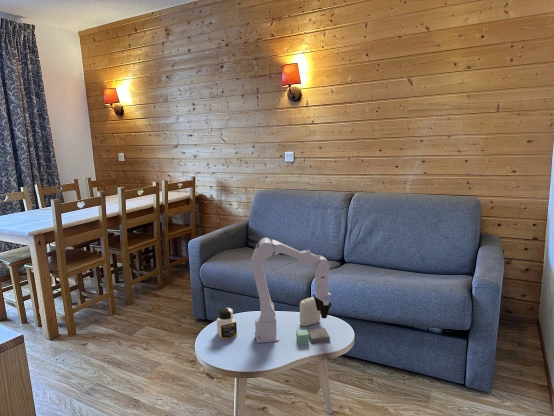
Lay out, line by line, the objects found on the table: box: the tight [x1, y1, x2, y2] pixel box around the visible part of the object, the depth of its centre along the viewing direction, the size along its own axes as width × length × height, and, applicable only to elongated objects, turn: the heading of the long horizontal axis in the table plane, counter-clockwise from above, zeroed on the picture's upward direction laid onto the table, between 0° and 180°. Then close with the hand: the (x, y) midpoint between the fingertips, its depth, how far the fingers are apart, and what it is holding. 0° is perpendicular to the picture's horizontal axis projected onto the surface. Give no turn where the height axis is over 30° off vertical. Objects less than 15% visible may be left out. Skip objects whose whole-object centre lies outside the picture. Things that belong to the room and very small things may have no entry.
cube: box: [295, 329, 310, 346], centre depth 162 cm, size 4×4×4 cm
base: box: [306, 327, 331, 344], centre depth 165 cm, size 8×8×2 cm
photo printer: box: [299, 297, 321, 327], centre depth 178 cm, size 10×4×12 cm, turn 119°
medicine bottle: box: [216, 307, 238, 341], centre depth 169 cm, size 7×7×12 cm
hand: (321, 314), depth 166 cm, fingers open, 7 cm apart
